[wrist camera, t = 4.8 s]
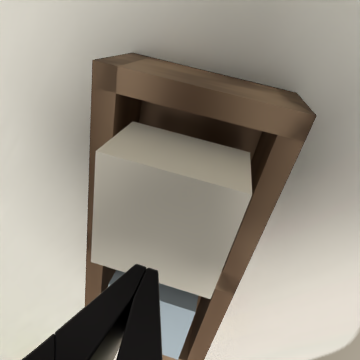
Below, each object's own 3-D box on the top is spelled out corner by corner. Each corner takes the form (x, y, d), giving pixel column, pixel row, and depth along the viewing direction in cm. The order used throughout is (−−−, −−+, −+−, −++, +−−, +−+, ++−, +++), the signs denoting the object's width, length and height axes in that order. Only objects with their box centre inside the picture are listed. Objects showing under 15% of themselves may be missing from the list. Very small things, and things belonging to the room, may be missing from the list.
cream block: (249, 152, 13) (252, 194, 10) (217, 242, 16) (210, 299, 13) (133, 121, 14) (95, 151, 10) (122, 214, 17) (90, 261, 13)
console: (296, 92, 16) (316, 115, 11) (205, 318, 27) (197, 373, 22) (131, 52, 16) (92, 59, 12) (108, 287, 28) (84, 335, 23)
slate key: (203, 266, 21) (195, 312, 18) (187, 313, 24) (177, 359, 21) (129, 244, 22) (108, 284, 18) (123, 292, 25) (103, 334, 21)
